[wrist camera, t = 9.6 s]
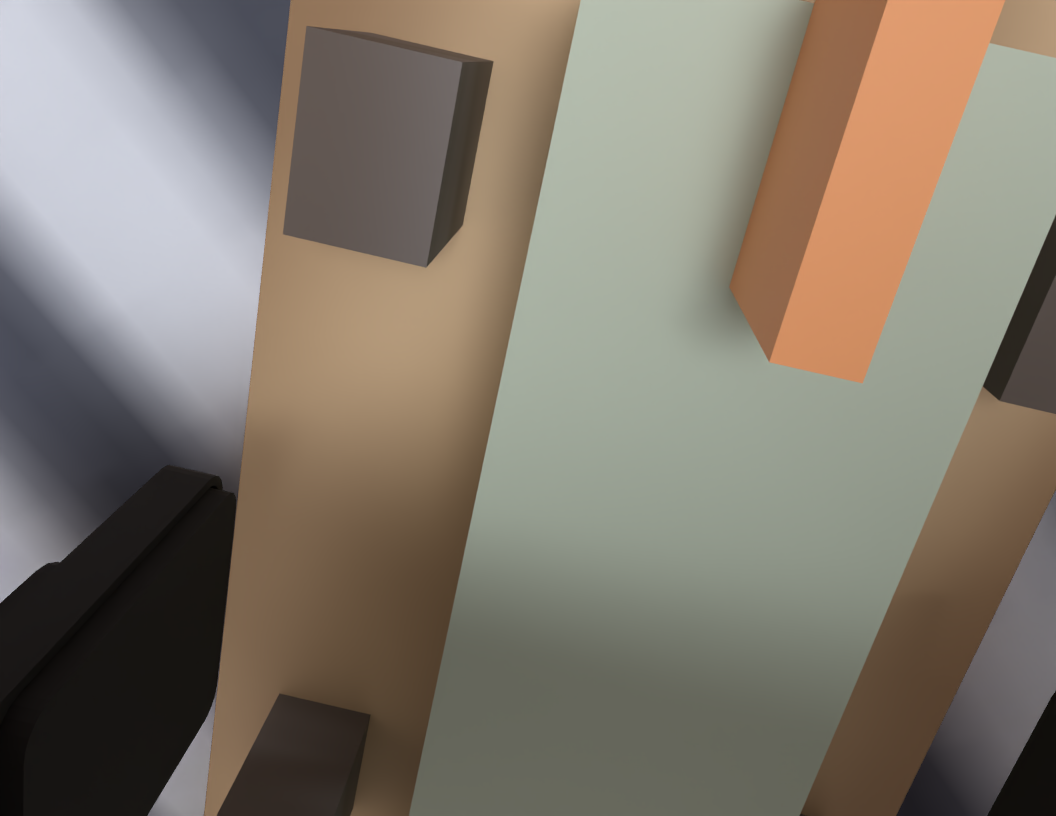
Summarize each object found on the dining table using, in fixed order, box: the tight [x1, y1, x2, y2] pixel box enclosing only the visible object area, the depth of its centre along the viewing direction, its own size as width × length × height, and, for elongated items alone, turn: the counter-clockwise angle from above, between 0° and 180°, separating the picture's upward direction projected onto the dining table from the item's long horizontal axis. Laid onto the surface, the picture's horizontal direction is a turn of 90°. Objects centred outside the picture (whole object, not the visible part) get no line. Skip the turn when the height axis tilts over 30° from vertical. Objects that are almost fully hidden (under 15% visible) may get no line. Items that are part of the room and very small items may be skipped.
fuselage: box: [409, 0, 1056, 816], centre depth 11 cm, size 4×16×6 cm, turn 168°
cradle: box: [204, 0, 1056, 816], centre depth 12 cm, size 11×20×4 cm, turn 168°
